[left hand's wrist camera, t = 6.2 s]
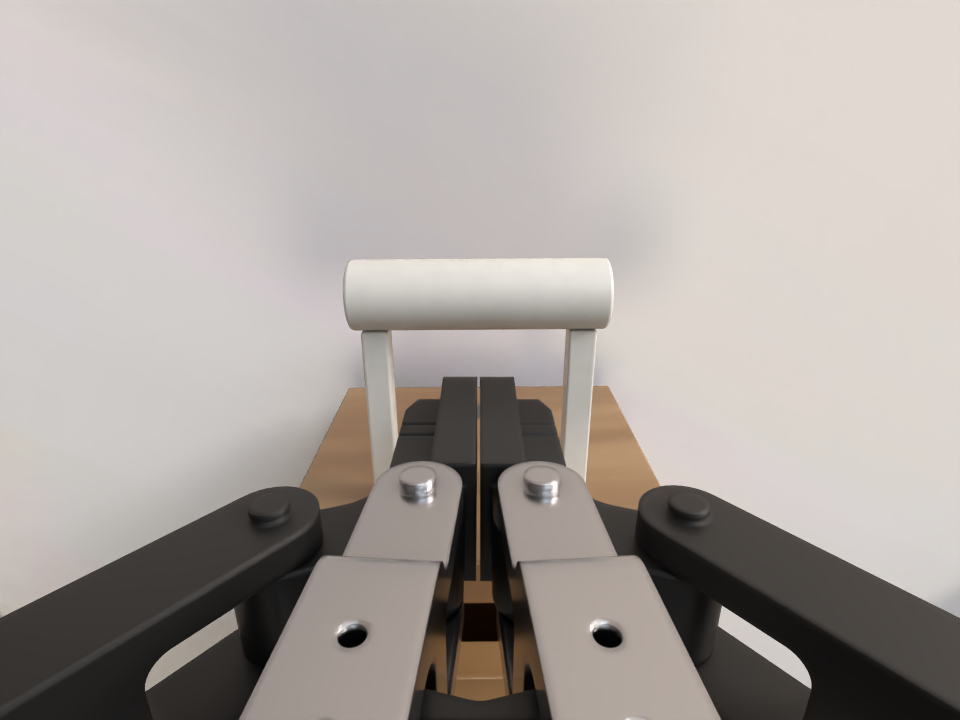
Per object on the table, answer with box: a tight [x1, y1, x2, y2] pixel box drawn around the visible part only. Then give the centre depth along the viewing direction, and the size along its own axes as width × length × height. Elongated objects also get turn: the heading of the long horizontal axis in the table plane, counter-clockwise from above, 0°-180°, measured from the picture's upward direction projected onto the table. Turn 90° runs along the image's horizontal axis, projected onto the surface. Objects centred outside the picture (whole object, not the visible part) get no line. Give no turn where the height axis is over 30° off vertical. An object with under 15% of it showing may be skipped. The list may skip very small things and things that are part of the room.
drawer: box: [299, 258, 660, 642], centre depth 18 cm, size 23×9×9 cm, turn 0°
